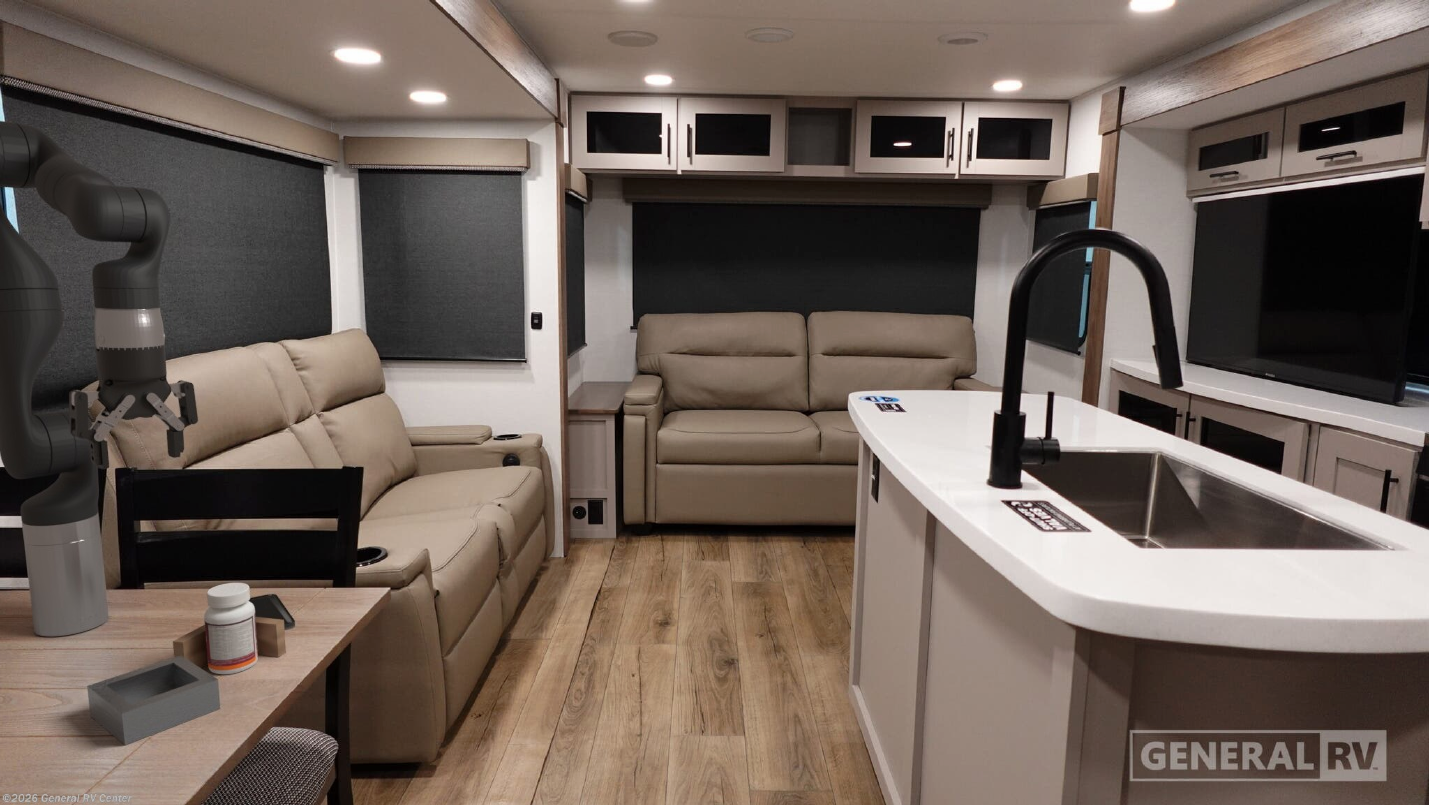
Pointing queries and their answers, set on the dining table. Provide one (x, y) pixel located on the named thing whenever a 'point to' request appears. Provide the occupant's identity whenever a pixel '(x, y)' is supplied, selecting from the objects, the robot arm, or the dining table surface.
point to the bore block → (153, 699)
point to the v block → (267, 641)
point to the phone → (272, 609)
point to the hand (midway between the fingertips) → (139, 462)
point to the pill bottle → (230, 629)
